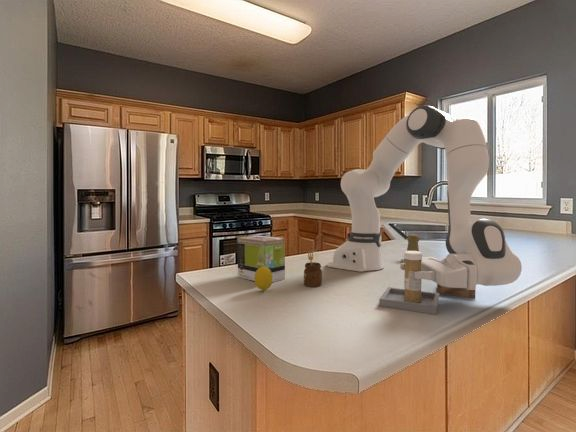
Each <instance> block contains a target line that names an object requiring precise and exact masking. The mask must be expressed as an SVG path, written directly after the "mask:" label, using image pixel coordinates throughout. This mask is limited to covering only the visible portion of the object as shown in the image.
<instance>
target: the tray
mask: <svg viewBox="0 0 576 432" xmlns="http://www.w3.org/2000/svg"><path fill="white" fill-rule="evenodd" d="M404 291H405V288H400V287H398V288H397V287H390V286H389V287H387V288H386V289H385V291H384V292H383V293H382V295H381V296H380V297H379V299H378V305H379V307H385V308H389V309H390V308H391V309H396V310H397V309H398V310H404V311H411V312H416V313H417V312H418V313H424V314H429V315H431V314H432V315H437V312H438V307H439V303H440V293H437V292H434V291H433V292H431V291H423V290H421V302H417V303H416V302H409V301H405V300H404V294H405V292H404Z"/></svg>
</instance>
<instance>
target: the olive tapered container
mask: <svg viewBox="0 0 576 432" xmlns="http://www.w3.org/2000/svg"><path fill="white" fill-rule="evenodd" d="M406 241H407V248H406V251H419V252H420V250H419V248H420V247H419V242H420V236H419V235H418V234H415V233H412V234H408V235H407V237H406Z"/></svg>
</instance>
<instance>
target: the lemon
mask: <svg viewBox="0 0 576 432" xmlns="http://www.w3.org/2000/svg"><path fill="white" fill-rule="evenodd" d="M254 284H255V286H256V287H257V289H259V290H261V291H262V292H265V291H266V290H268V289H269V288H270V287H271V286H272V284H273V282H272V273H271V271H270V269H268V268H267V267H265V266H262V267H260V268H259V269H257V271H256V273H255V281H254Z"/></svg>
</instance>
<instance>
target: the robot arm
mask: <svg viewBox="0 0 576 432" xmlns="http://www.w3.org/2000/svg"><path fill="white" fill-rule="evenodd" d="M422 143H423V144H425V145H428V146H432V147H435V148H437V149H440V150H444V152H445V157H446V165H447V166H446V167H447V192H446V193H447V213H448V214H447V215H448V216H447V217H448V229H447V233H446V238H445V248H446V250H447V252H448V254H447V255H446V256H445V258H442V259H440V258H438V257H433V256H432V257H431V256H422V261H421V271H414V272H413V277H414V278H416V279H421V280H427V281H432V282H433V283H435V284H436V285H437V284H439V285H440V286H443V287H448V288H465V289H467V290H475V291H476V288H477V285H480V286H485V287H493V286H495V287H496V286H505V285H509V284H513V283H514V282H516V281H517V280H518V279H519V277H520V276H521V272H522V270H523V269H522V262H521V260H520V258H519V257H518V256H517V255H516V254H515V253H513V251H512V250H511V249H510V246H509V244H508V243H507V241H506V235H505V232H504V229H503V228H502V226H501V225H500V224H498V222H496V221H494V220H492V219H489V218H480V219H477V220H475V221H472V216H471V198H472V196H473V193H474V192H475V190H476V188H477V187H478V186H479V184H480V183H481V182H482V180H483V179H484V178H485V177H486V175H487V174H488V172H489V166H490V156H489V155H490V154H489V150H488V146H487V142H486V137H485V135H484V132H483V130H482V128H481V125H480V124H479V122H478V120H476V119H474V118H471V117H461V118H458V119H456V118H455V117H454V116H452V114H451V115H450V114H449V113H447V112H445V111H442V110H440V109H438V108H436V107H434V106H431V105H426V104H425V105H420V106H417V107H415V108H414V109H412V111H411V112H410V113H409V114H408V115H405V116H404V117H403V118H401V119H400V120H399V121H398V122H397V123H396V124H395V125H394V126H393V127H392V128H391V129H390V130H389V131H388V133H387V134H386V135H385V137H383V139H382V140H381V142H379V144H378V146H377V147H376V148H375V150H373V152H372V160H371V163H370V164H369V166H368V167H367V168H366V169H360V168H358V169H352V170H349V171H347V172H345V173H344V174H343V175H342V176H341V179H340V188H341V192H343V193H344V195H345V196H346V198H347V200H348V204H349V207H350V213H351V231H349V232H348V233H347V234H346V236H345V237H346V239H347V240H346V241H345V242H344V243H341V245H340V246H337V248H336V249H335V250H334V252H333V256H332V260H329V261H328V262H327V263H326V265H327V267H328V268H334V269H340V270H347V271H354V272H358V273H359V272H368V271H378V270H382V269H384V267H385V266H384V263H383V258H382V257H383V256H382V252H381V251H382V250H381V247H382V233H381V212H380V210H379V209H378V207H377V205H376V202H375V198H378V197H380V196H384V194H386V193H387V192H388V190H389V189H390V188H391V187H390V186H391V181H392V179H393V177H394V175H395V173H396V172H397V171H398V169H399V168H400V167H401V165H402V164H403V163H404V162H405V161H406V160H407V158H408V157H409V156H410V155H411V154H412V153H413V152H414V150H415V149H416V148H417V147H418V145H419V144H422ZM399 266H400V267H399V268H400V270H402V271H405V262H401V263H400V265H399Z"/></svg>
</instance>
